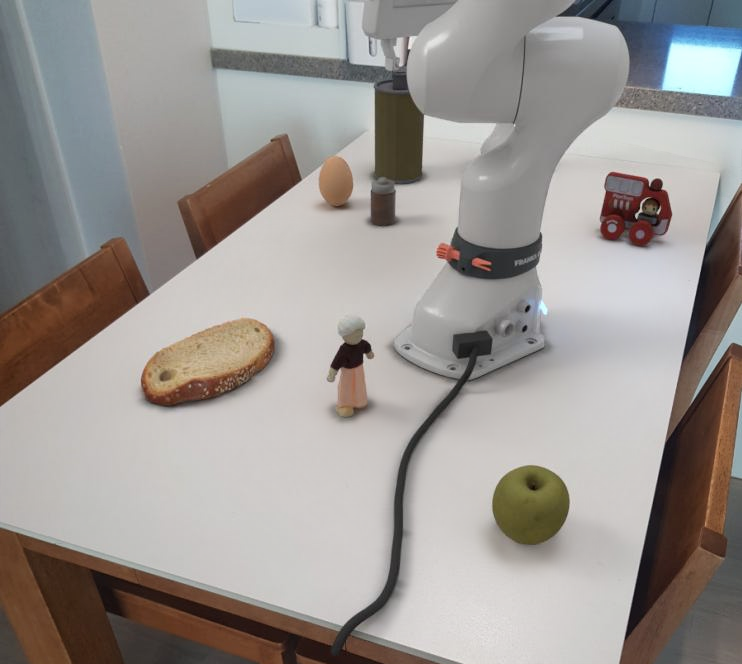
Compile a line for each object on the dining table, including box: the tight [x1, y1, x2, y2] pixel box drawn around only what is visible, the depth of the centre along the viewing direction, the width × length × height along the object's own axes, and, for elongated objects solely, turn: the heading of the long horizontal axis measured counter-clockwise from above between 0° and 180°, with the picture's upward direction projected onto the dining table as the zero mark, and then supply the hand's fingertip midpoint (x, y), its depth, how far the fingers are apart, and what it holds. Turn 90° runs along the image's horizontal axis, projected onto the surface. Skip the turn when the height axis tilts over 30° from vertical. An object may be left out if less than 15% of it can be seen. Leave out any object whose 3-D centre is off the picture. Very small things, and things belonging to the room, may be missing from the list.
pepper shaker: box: [370, 177, 397, 227], centre depth 138 cm, size 5×5×8 cm
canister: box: [373, 67, 425, 185], centre depth 153 cm, size 11×10×20 cm
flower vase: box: [479, 123, 515, 155], centre depth 155 cm, size 13×18×25 cm
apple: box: [491, 464, 571, 546], centre depth 76 cm, size 8×8×7 cm
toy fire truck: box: [599, 171, 673, 247], centre depth 132 cm, size 7×12×10 cm, turn 60°
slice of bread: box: [140, 317, 276, 406], centre depth 101 cm, size 18×18×4 cm
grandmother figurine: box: [326, 314, 375, 418], centre depth 91 cm, size 8×4×13 cm, turn 148°
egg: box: [318, 155, 354, 207], centre depth 144 cm, size 7×7×9 cm
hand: (413, 67), depth 119 cm, fingers open, 8 cm apart
